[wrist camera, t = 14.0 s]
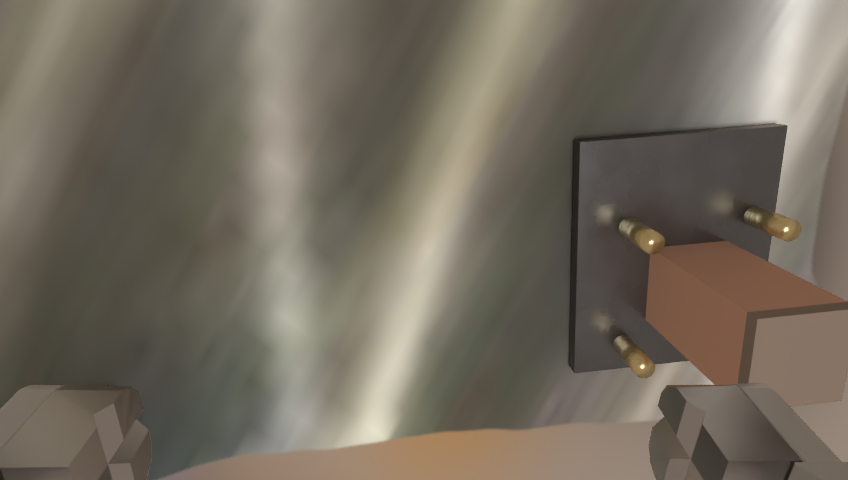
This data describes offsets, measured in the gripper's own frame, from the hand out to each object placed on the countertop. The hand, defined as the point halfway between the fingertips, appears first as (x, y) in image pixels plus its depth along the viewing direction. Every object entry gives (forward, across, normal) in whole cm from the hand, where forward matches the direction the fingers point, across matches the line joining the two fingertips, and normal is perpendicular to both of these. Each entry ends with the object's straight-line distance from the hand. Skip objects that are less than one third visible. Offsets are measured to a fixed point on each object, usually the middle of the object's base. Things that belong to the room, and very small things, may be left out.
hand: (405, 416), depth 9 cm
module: (+27, -20, +12) cm, 36 cm away
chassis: (+28, -19, +10) cm, 35 cm away
